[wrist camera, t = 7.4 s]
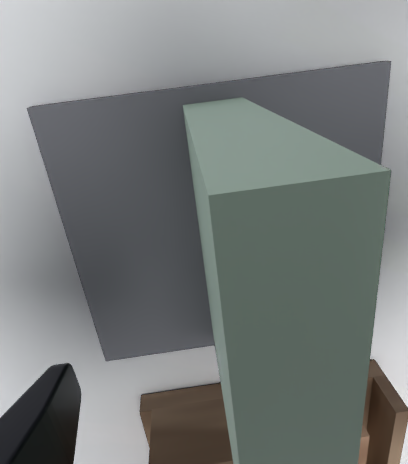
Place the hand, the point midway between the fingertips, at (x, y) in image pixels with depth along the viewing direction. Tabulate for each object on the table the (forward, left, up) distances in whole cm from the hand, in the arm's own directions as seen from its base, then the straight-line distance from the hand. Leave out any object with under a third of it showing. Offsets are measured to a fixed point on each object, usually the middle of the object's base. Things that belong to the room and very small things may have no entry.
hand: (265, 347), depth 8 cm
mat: (0, 0, -7) cm, 7 cm away
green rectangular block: (0, 0, -6) cm, 6 cm away
